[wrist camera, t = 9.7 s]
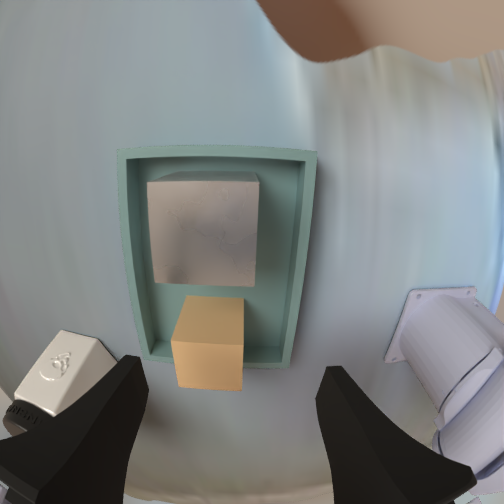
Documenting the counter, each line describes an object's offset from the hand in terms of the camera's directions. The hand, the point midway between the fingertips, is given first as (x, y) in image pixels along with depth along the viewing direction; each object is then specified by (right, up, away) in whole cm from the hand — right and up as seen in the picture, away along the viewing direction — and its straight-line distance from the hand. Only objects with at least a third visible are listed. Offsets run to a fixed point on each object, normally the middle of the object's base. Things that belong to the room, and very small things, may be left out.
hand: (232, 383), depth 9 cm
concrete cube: (-1, +8, +7) cm, 10 cm away
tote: (-2, +4, +9) cm, 10 cm away
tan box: (-2, 0, +10) cm, 10 cm away
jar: (-16, -6, +13) cm, 21 cm away
